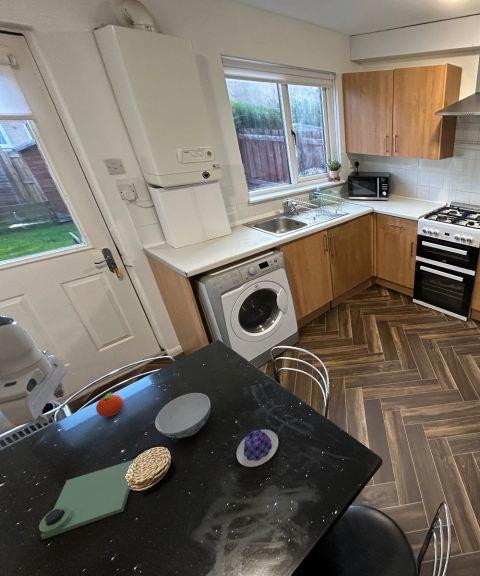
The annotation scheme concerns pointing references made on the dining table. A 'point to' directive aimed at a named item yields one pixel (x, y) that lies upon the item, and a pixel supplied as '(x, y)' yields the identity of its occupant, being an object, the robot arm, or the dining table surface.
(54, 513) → the button
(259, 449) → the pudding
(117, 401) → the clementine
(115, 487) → the scale
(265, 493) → the dining table surface
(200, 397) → the chinaware
